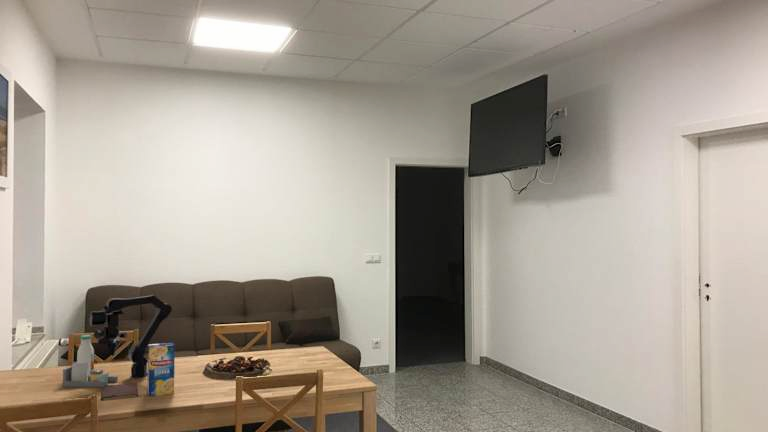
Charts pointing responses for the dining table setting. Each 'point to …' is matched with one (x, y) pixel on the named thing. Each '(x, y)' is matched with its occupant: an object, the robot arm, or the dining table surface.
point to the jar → (95, 374)
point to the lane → (69, 383)
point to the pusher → (103, 377)
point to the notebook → (119, 391)
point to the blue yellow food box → (160, 369)
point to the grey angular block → (79, 372)
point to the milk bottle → (86, 352)
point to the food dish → (235, 368)
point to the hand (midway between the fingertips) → (112, 355)
